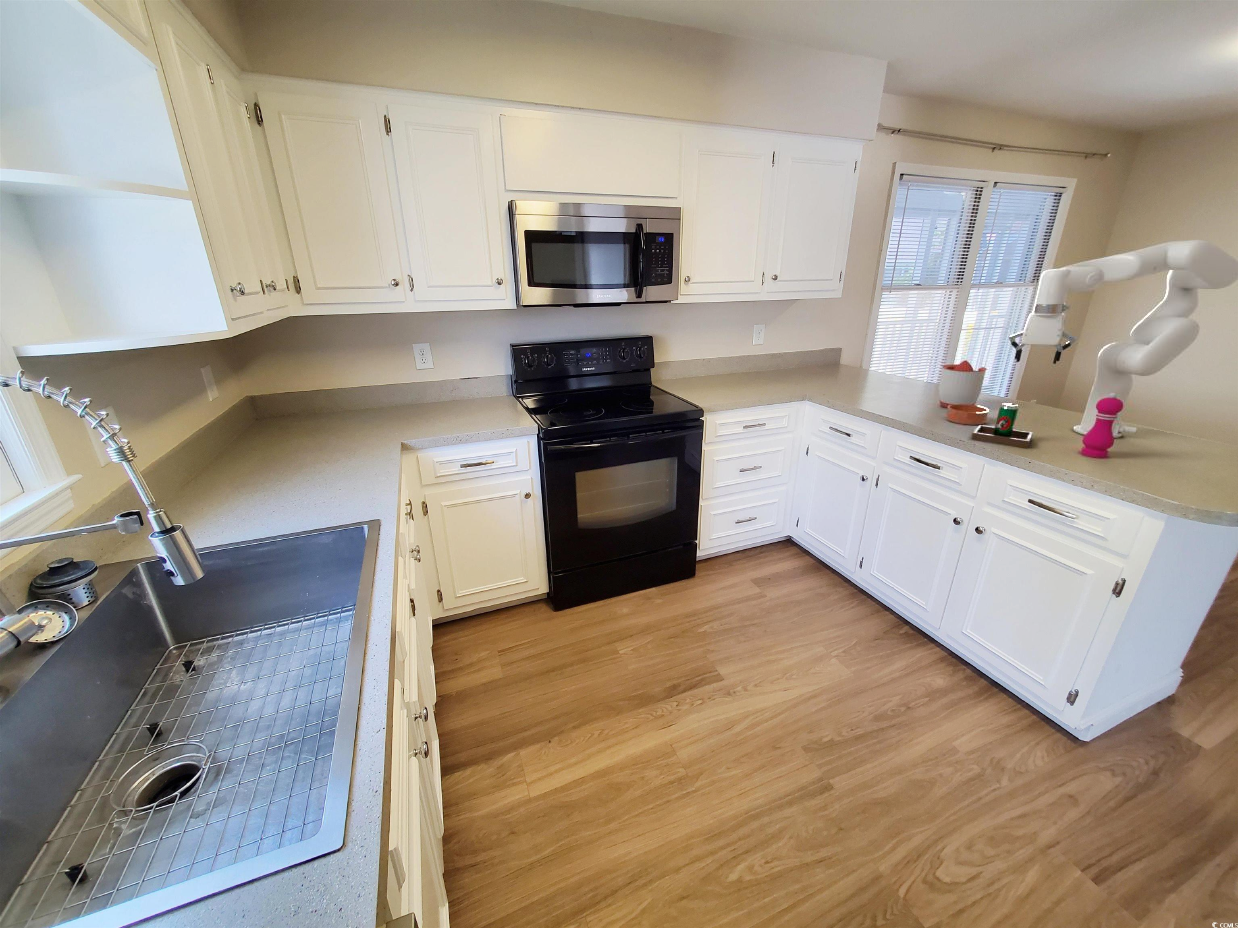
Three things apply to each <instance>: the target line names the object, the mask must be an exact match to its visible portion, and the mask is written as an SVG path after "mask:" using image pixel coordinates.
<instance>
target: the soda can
mask: <svg viewBox="0 0 1238 928" xmlns="http://www.w3.org/2000/svg"><path fill="white" fill-rule="evenodd" d="M1018 413H1019V405H1018V404H1017V403H1012V402H1011V403H1010V402H1004V403H1001V405H1000V406H999V410H998V413H997V417H996V422H995V426H994V427H995V429H994V433H993V435H996V436H1002V437H1009V438H1011V436H1012V432H1013V430H1014V428H1015V424H1016V421H1017V416H1018Z"/></svg>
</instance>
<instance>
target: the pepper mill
mask: <svg viewBox="0 0 1238 928" xmlns="http://www.w3.org/2000/svg"><path fill="white" fill-rule="evenodd" d="M1116 397H1117V394H1116V393H1111V394H1109V397H1108V398H1103V399H1101V400H1099V401H1098V402H1097V404H1096V409H1097V410H1098V412H1096V415H1095V417H1096V422H1095V424H1094V426H1093V427H1092V428H1091V429H1090V430H1089V431H1088V432H1087V433H1086V434H1085V435H1084V436H1083V437H1082V439H1081V442H1082V444H1083V446H1082V447H1081V448H1080V454H1081V455H1083V456H1085V457H1086V456H1087V457H1090V458H1095V459H1105V458H1107V457H1108V455H1109V449H1111V448H1112V447H1113V446H1114V444H1115V438H1114V437H1113V433H1112V425H1113V422H1114V420H1116V419H1117V416H1118V414H1117V413H1119V412H1120V411H1122V409H1123V402H1122V401H1121V400H1119V399H1117V398H1116Z"/></svg>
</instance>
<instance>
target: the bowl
mask: <svg viewBox="0 0 1238 928" xmlns="http://www.w3.org/2000/svg"><path fill="white" fill-rule="evenodd" d="M989 413H990V409H988V408H987V407H984V406H981V405H975V404H974V405H968V404H954V405H949V406H948V408H946V414H945V419H946V420H948V421H950V422H952V423H956V424H959V425H967V426H976V425H978V426H979V425H984V424H986V423H987V420H988V416H989Z"/></svg>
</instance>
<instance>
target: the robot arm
mask: <svg viewBox="0 0 1238 928" xmlns="http://www.w3.org/2000/svg"><path fill="white" fill-rule="evenodd" d="M1162 272H1168V274H1167V277H1166V293H1165V296H1164V298H1163V299H1162V301H1161V302H1160V303H1158V305H1157V306H1156V307H1154V308H1153V309H1152V310H1151V311H1150V312H1149V313H1148V314H1147V315H1146V316H1144V317H1143V318H1142V319H1141V320H1140V321H1139V322H1138V323H1136V325H1135V326H1134V327H1133V328H1132V329H1131V331H1130V333H1129V336H1130V339H1131V340H1132V341H1133V342H1130V341H1115V342H1111V343H1108V344H1107V345H1105V346H1103V348H1102V349H1101V350H1100V351H1099V353H1098V355H1097V360H1096V372H1095V377H1094V381H1093V385H1092V388H1091V391H1090V394H1089V396H1088V400H1087V403H1086V406H1085V410H1084V413H1083V416H1082V419H1081V423H1080V424H1077V425H1074V426H1073V428H1072V429H1073V431H1074V432H1075V433H1077V434H1080V435H1084V436H1085V434H1086V433H1087V432H1088V431H1089V430H1090V429H1091V428H1092V427H1093V426H1094V424H1095V422H1096V417H1095V415H1096V412H1098V410H1097V409H1096V404H1097V402H1098V401H1099V400H1101V399H1103V398H1108V397H1109V394H1111V393H1116V394H1117V397H1116V398H1117V399H1119V400H1121V401H1122V402H1123V409H1122V411H1120V412H1119V413H1117V414H1118V416H1117V419H1116V420H1114V422H1113V425H1112V433H1113V437H1114V439H1117V438H1121V437H1122V435H1123V433H1129V434H1136V433H1137V429H1138V428H1137V427H1133V426H1132V425H1125V424H1124V425H1123V424H1122V421H1121V420H1122V416H1123V414H1124V412H1125V411H1124V410H1125V408H1126V405H1127V403H1128V402H1127V401H1128V400H1129V396H1130V394H1131V391H1132V388H1133V381H1134V380H1133V375H1134V376H1139V377H1140V376H1141V377H1148V376H1152V375H1155V374H1157V373H1158V372H1160V371H1162V370H1163V369H1164V368H1165V367H1167V366H1168V365H1169V364H1170V363H1171V362H1172V361H1174V360H1175V359H1177V358H1178V357H1179V356H1180V355H1181V354H1182V353H1184V351H1186V350H1187V349H1188V348H1189V347H1190V346H1192V344H1193V343H1194V342H1195V341H1196V340H1197V337H1198V336H1199V333H1200V325H1199V323H1198V322H1197V321H1196V320H1195V319H1192V318H1190V317H1191V316H1192V315H1193V314H1194V313H1195V312H1196V310H1197V308H1198V305H1199V290H1220V289H1224V288H1227V287H1230V286H1232V285H1233V284H1235V282H1237V281H1238V259H1236V258H1235V257H1234V256H1232V255H1230V253H1228V252H1226V251H1224V250H1223V249H1222V248H1221V247H1219V246H1217V245H1215V244H1214V243H1212V242H1210V241H1207V240H1204V239H1191V240H1190V239H1189V240H1173V241H1168V242H1163V243H1159V244H1155V245H1151V246H1148V247H1144V248H1140V249H1137V250H1132V251H1128V252H1124V253H1118V254H1113V255H1109V256H1105V257H1099V258H1095V259H1090V260H1085V261H1081V262H1077V263H1073V264H1070V265H1065V266H1063V267H1061V268H1054V269H1053V268H1051V269H1046V270H1044V271H1043V272H1042V274H1041V275H1040V278H1039V284H1038V288H1037V293H1036V296H1035V302H1034V306H1033V310H1032V313H1030V314H1029V315H1028V317H1027V320H1026V323H1025V326H1024V329H1023V331H1020V332H1017V333H1015V334H1012V335H1010V336H1008V339H1009V342H1010V344H1011V346H1012V347H1013V348H1014V349H1015V355H1014V360H1016V363H1020V361H1021V358H1022V353H1023V347H1025V346H1044V347H1045V346H1047V347H1053V346H1054V348H1055V349H1056V351H1055V352H1054V358H1053V362H1052V364H1053V365H1056V364H1057V362H1060V359H1061V356H1062V352H1063V351H1065V350H1066V349H1068V348H1070V347H1071V346H1072V345H1073V344H1074V343H1075V342H1076V341H1077V337H1076V336H1074V335H1072V334H1070V333H1068V332H1065V326H1066V319H1067V318H1066V313H1064V312H1065V311H1070V309H1071V305H1067V304H1066V301H1067V297H1068V293H1069V292H1075V293H1085V292H1091V291H1093V290H1094V291H1095V289H1097V288H1099V287H1100V286H1101V285H1102V284H1103V283H1115V282H1116V283H1117V282H1125V281H1126V282H1127V281H1132V280H1135V279H1138V278H1139V279H1140V278H1143V277H1146V276H1151V275H1154V274H1158V273H1162ZM1198 289H1199V290H1198ZM1017 338H1021V342H1020V344H1019V343H1018V342H1017V341H1016V339H1017ZM1063 338H1065V339H1067V340H1068V341H1067V342H1066V343H1065V344H1063V345H1062V344H1061V342H1062V340H1063Z"/></svg>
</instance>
